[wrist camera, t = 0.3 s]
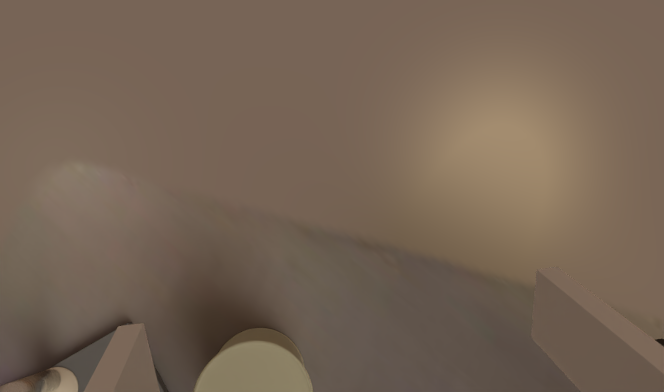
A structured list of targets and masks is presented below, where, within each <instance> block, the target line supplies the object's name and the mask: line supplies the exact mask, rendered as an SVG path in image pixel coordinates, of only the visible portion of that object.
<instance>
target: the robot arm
mask: <svg viewBox="0 0 664 392" xmlns="http://www.w3.org/2000/svg"><path fill="white" fill-rule="evenodd" d="M531 338H532V339H533V340H534V341H535V342H536V343H537V344H538V345H539V346H540V347H541V349H542V350H543V351H544V352H545V353H546V354H547V355H548V356H549V357H550V358H551V359H552V361H553V362H554V363H555V364H556V365H557V366H558V367H559V368H560V369H561V370H562V371H563V373H564V374H565V375H566V376H567V377H568V378H569V379H570V380H571V381H572V382H573V384H574V385H575V386H576V387H577V388H578V389H579V390H580V391H581V392H664V339H657V340H654V339H653V338H651V337H650V336H649V335H647V334H646V333H645V332H643V331H642V330H641V329H639V328H638V327H637V326H635V325H634V324H633V323H631V322H630V321H629V320H627V319H626V318H625V317H624V316H622V315H621V314H620V313H618V312H617V311H616V310H614V309H613V308H612V307H610V306H609V305H608V304H606V303H605V302H604V301H602V300H601V299H600V298H598V297H597V296H596V295H594V294H593V293H592V292H590V291H589V290H588V289H586V288H585V287H584V286H582V285H581V284H580V283H578V282H577V281H576V280H574V279H573V278H572V277H570V276H569V275H568V274H566V273H565V272H564V271H562V270H561V269H560V268H558V267H552V268H545V269H538V270H537V273H536V285H535V296H534V308H533V319H532V331H531ZM84 392H160V390H159V386H158V381H157V377H156V373H155V369H154V364H153V360H152V356H151V352H150V348H149V343H148V339H147V335H146V331H145V327H144V323H138V324H131V325H124V326H118V328H117V329H116V331H115V333H114V335H113V337H112V339H111V341H110V343H109V345H108V347H107V348H106V350H105V352H104V354H103V356H102V358H101V360H100V362H99V364H98V365H97V367H96V369H95V371H94V373H93V375H92V377H91V379H90V381H89V383H88V384H87V386H86V388H85V390H84Z"/></svg>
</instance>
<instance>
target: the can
mask: <svg viewBox="0 0 664 392" xmlns="http://www.w3.org/2000/svg"><path fill="white" fill-rule="evenodd" d="M193 392H313V388H312V384H311V380H310V377H309V375H308V373H307V371H306V369H305V367H304V362H303V359H302V356H301V354H300V352H299V350H298V348H297V347H296V345H295V344H294V343H293V342H292V341H291V340H290V339H289V338H288V337H287V336H285V335H284V334H282V333H280V332H278V331H276V330H273V329H268V328H253V329H248V330H245V331H243V332H240V333H238V334H237V335H235V336H234V337H232V338H231V339H230V340H228V341H227V342H226V343H225V344H224V346H223V347H222V348H221V349H220V351H219V353H218V354H217V355H216V356H215V357H213V358H212V359H211V360H210V362H209V363H208V364H207V365H206V366H205V368H204V369H203V371H202V372H201V374H200V375H199V377H198V379H197V382H196V384H195V387H194V390H193Z"/></svg>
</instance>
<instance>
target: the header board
mask: <svg viewBox="0 0 664 392" xmlns="http://www.w3.org/2000/svg"><path fill="white" fill-rule="evenodd" d="M131 324H132V323H131V322H130V323H127V324H125V325H131ZM123 326H124V325H123ZM115 331H116V330H115ZM115 331H113V332H111V333H110V334H108V335H106V336H104V337H103V338H101V339H99V340H98V341H96V342H94V343H92V344H91V345H89V346H87V347H85V348H84V349H82V350H80V351H79V352H77V353H75V354H73V355H72V356H70V357H68V358H66V359H65V360H63V361H61V362H60V363H58V364H56V365H54V366H53V367H51V368H49V369H54V370H56V371H58V372H59V373H60V375H61V383H60V385H59V387H58V388H57V389H56V390H54V391H52V392H84V390H85V388H86V386H87V384H88V383H89V381H90V379H91V377H92V375H93V373H94V371H95V369H96V367H97V365H98V364H99V362H100V360H101V358H102V356H103V354H104V352H105V350H106V348H107V347H108V345H109V343H110V341H111V339H112V337H113V335H114V333H115ZM154 369H155V373H156V377H157V381H158V386H159V390H160V392H168V391H167V389H166V387H165V385H164V383H163V381H162V379H161V377H160V376H159V374H158V372H157V370H156V368H155V366H154ZM47 370H48V369H47Z"/></svg>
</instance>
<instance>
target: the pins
mask: <svg viewBox="0 0 664 392" xmlns="http://www.w3.org/2000/svg"><path fill="white" fill-rule="evenodd" d="M60 383H61V375H60V373H59V372H58V371H56V370H54V369H48V370H45V371H42V372H39V373H36V374H33V375H31V376H28V377H25V378H22V379H19V380H16V381H13V382H10V383H7V384H5V385H2V386H0V392H52V391H54V390H56V389H57V388H58V387H59V385H60Z"/></svg>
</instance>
